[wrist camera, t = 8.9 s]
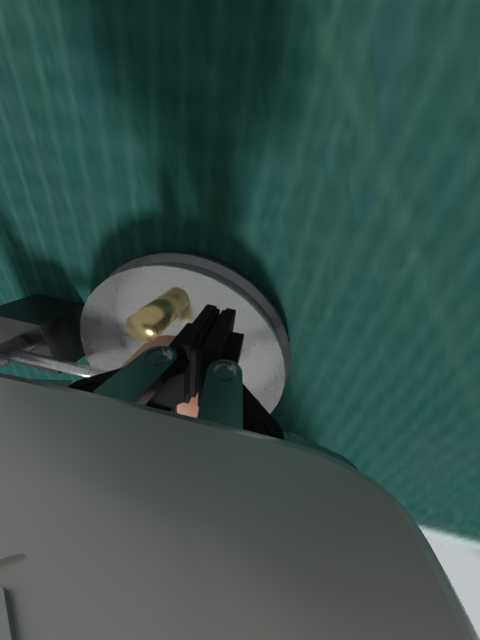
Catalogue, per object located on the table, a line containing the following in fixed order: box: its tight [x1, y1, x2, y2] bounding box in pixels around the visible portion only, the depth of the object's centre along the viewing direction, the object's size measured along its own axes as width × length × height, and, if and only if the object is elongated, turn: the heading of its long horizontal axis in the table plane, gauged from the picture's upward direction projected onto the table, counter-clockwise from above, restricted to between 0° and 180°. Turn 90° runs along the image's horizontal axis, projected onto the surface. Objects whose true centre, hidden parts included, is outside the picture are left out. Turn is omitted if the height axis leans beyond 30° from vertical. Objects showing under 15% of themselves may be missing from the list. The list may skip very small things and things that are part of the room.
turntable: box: [80, 262, 285, 414], centre depth 15 cm, size 17×17×6 cm
